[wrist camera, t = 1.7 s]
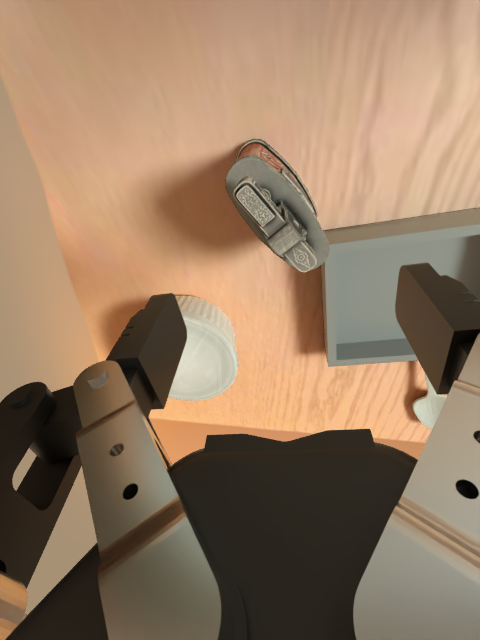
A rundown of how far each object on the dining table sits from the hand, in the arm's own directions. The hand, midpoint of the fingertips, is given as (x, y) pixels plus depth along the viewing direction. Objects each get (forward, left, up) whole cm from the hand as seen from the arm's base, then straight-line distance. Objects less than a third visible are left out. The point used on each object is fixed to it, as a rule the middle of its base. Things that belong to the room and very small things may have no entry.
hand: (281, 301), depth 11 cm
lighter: (0, 0, -17) cm, 17 cm away
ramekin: (+11, +13, -17) cm, 24 cm away
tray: (-10, +11, -16) cm, 22 cm away
